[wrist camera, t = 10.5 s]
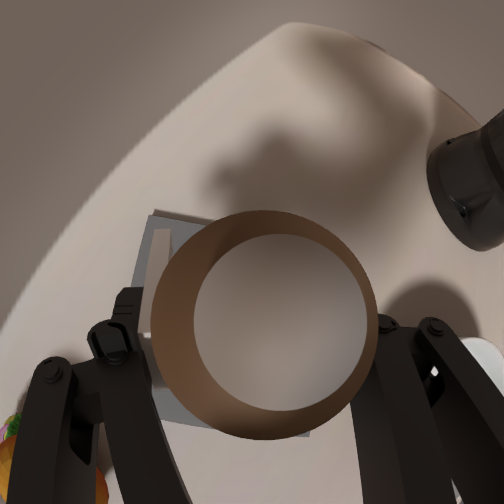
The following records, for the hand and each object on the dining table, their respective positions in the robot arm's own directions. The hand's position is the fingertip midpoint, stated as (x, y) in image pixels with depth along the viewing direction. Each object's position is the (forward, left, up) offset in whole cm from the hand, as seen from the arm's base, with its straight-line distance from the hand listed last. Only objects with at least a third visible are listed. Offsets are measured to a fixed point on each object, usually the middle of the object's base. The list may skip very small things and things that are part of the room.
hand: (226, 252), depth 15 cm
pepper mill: (-1, +4, -3) cm, 5 cm away
